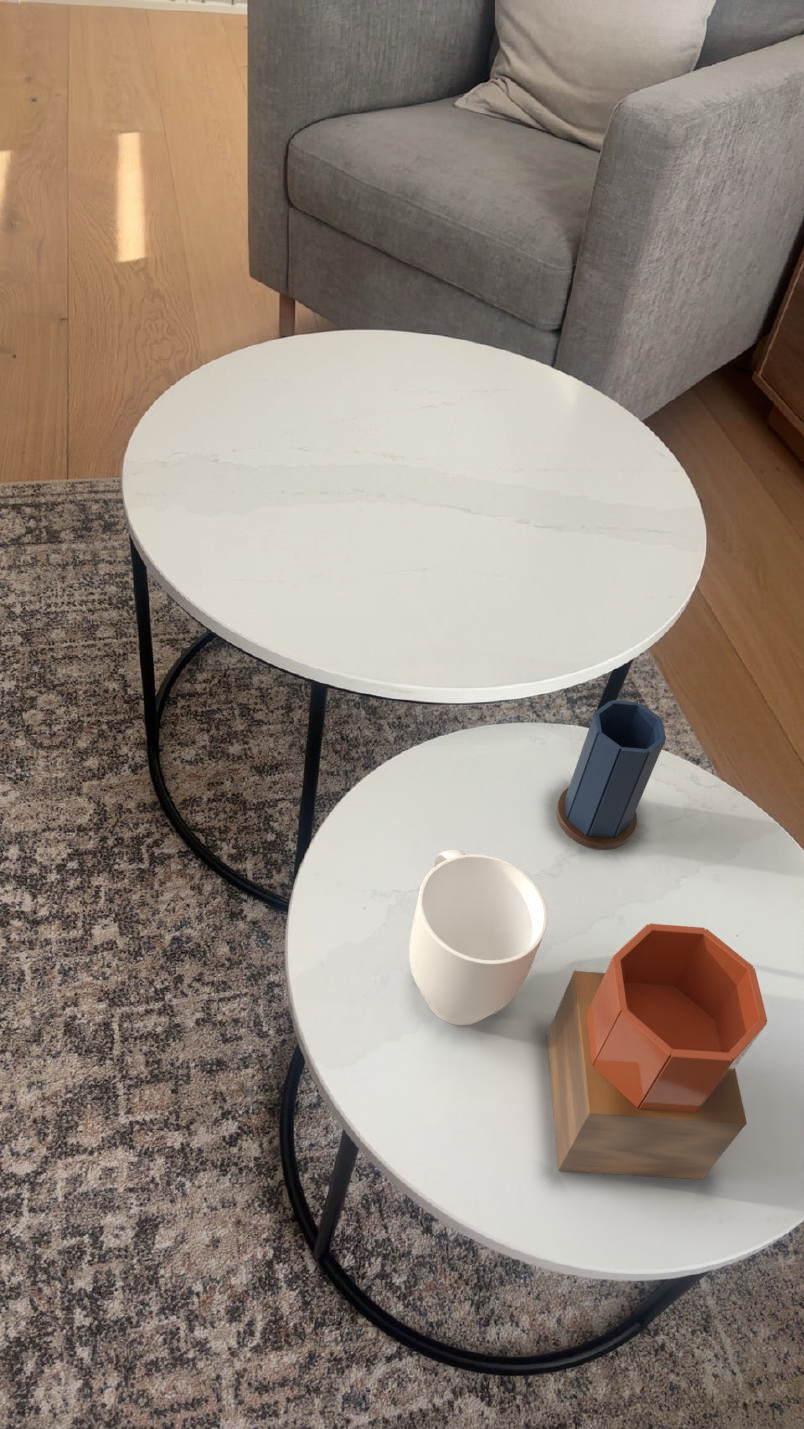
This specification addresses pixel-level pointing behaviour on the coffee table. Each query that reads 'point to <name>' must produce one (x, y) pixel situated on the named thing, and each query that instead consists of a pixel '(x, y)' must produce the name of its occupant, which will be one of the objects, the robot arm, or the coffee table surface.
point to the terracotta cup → (673, 1017)
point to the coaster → (586, 839)
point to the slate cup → (614, 768)
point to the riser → (626, 1109)
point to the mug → (474, 935)
